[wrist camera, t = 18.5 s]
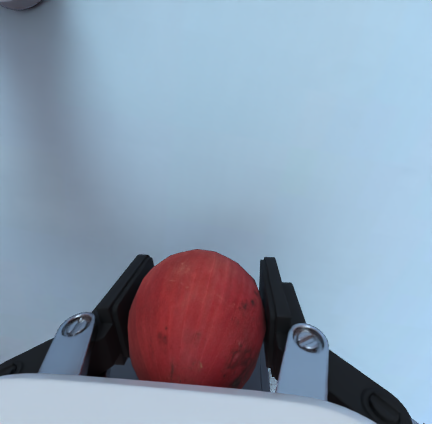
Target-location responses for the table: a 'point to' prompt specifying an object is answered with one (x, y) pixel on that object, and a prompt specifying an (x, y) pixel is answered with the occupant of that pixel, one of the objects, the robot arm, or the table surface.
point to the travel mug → (18, 4)
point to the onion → (196, 322)
